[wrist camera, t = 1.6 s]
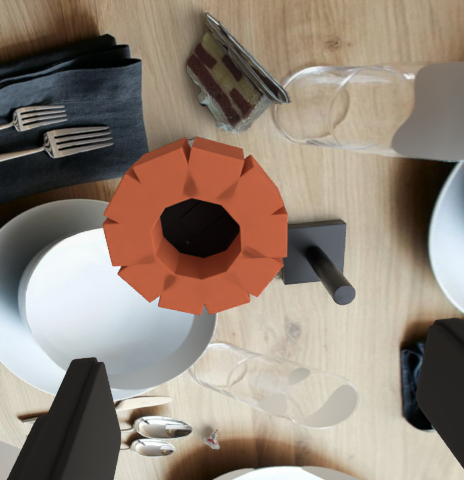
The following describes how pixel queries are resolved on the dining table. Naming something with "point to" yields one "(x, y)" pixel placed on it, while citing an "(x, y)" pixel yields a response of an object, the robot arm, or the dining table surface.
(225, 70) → the chocolate cake
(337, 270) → the black peg stand
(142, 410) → the dining table surface
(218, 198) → the ring
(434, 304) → the dining table surface
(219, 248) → the travel mug
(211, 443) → the figurine
